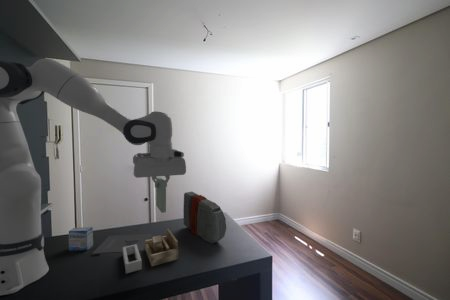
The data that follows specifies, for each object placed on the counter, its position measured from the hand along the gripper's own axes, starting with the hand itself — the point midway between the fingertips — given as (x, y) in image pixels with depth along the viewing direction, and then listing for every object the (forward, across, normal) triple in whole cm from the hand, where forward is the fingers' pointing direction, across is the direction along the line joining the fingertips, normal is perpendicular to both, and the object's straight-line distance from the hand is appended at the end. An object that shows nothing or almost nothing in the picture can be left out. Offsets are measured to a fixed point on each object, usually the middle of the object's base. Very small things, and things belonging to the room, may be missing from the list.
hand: (160, 187), depth 87 cm
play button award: (+29, -12, +18) cm, 36 cm away
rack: (+28, 0, 0) cm, 28 cm away
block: (+9, 0, 0) cm, 9 cm away
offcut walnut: (+25, -2, 0) cm, 25 cm away
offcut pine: (+23, -2, 0) cm, 23 cm away
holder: (+28, -11, 0) cm, 31 cm away
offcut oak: (+28, -2, 0) cm, 28 cm away
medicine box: (+29, -29, +24) cm, 47 cm away
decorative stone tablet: (+28, +22, +8) cm, 37 cm away
